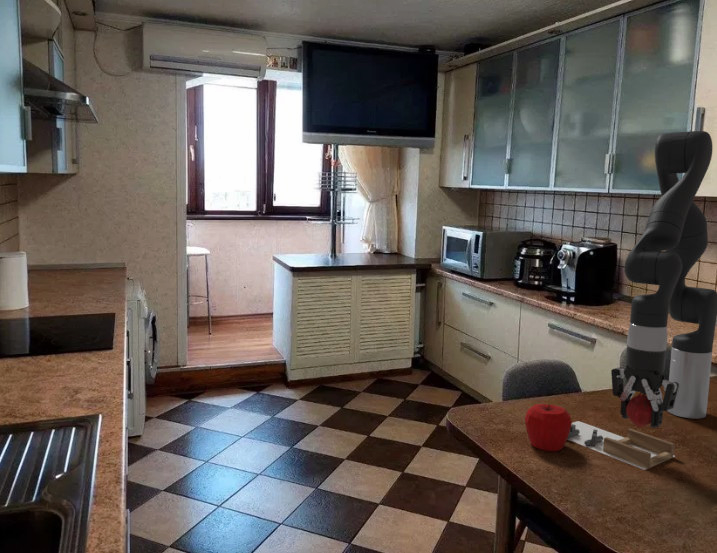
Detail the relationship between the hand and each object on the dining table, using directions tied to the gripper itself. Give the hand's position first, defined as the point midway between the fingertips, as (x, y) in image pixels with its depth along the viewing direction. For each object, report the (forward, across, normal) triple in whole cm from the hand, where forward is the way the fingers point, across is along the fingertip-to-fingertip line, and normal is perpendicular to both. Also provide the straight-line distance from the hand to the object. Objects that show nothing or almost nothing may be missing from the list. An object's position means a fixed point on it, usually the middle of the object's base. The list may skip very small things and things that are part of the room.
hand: (640, 422), depth 130 cm
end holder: (+7, 0, 0) cm, 7 cm away
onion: (+1, 0, 0) cm, 1 cm away
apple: (+9, +14, +13) cm, 21 cm away
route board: (+8, +7, +1) cm, 11 cm away
